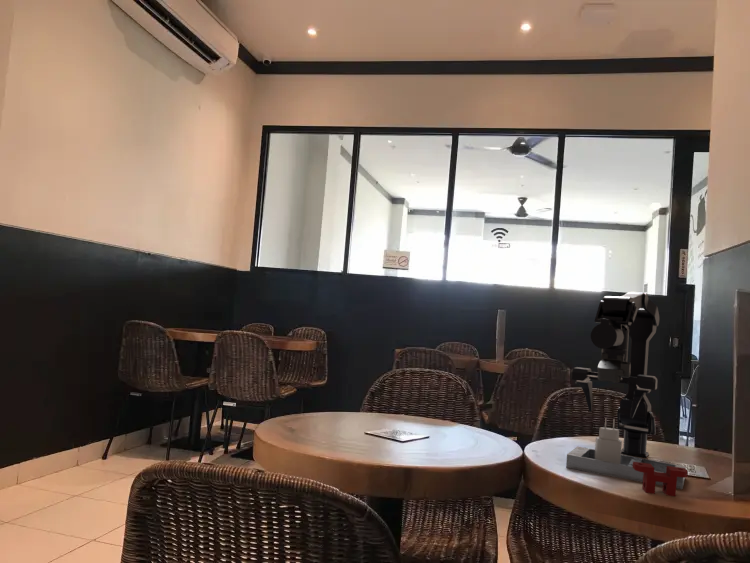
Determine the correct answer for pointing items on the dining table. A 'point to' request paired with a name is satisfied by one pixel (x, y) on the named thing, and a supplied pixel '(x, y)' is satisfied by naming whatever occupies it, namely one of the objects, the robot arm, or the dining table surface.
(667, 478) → the bracket
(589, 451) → the grey rectangular tray
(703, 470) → the dining table surface
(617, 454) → the power adapter
